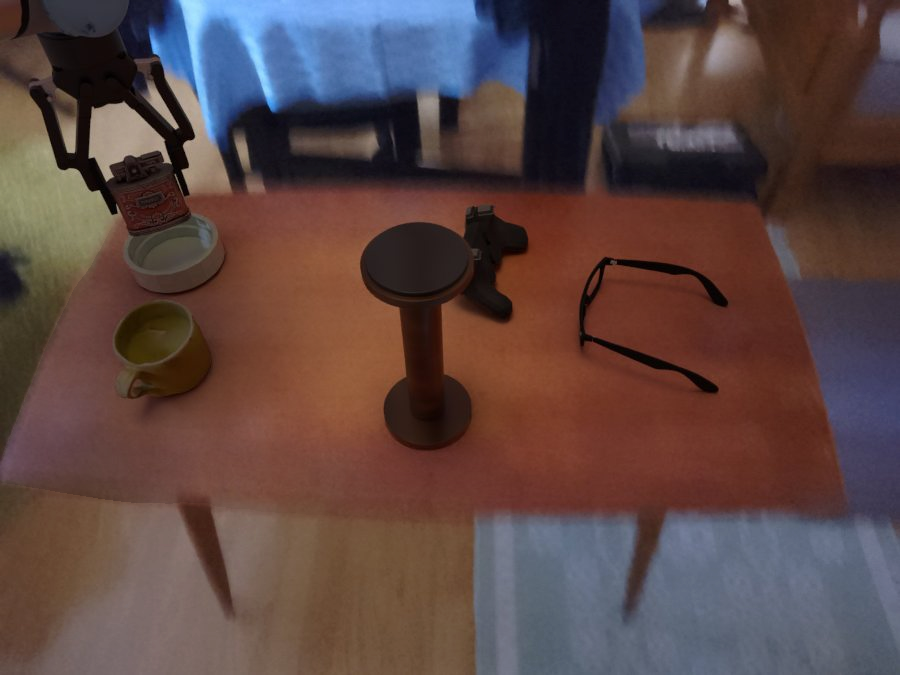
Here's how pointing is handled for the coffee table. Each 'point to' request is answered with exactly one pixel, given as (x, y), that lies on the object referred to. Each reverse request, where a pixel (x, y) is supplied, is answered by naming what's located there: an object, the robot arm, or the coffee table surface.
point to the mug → (160, 350)
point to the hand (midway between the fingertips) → (149, 198)
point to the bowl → (175, 256)
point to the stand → (421, 327)
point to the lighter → (147, 194)
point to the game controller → (490, 256)
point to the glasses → (635, 355)
